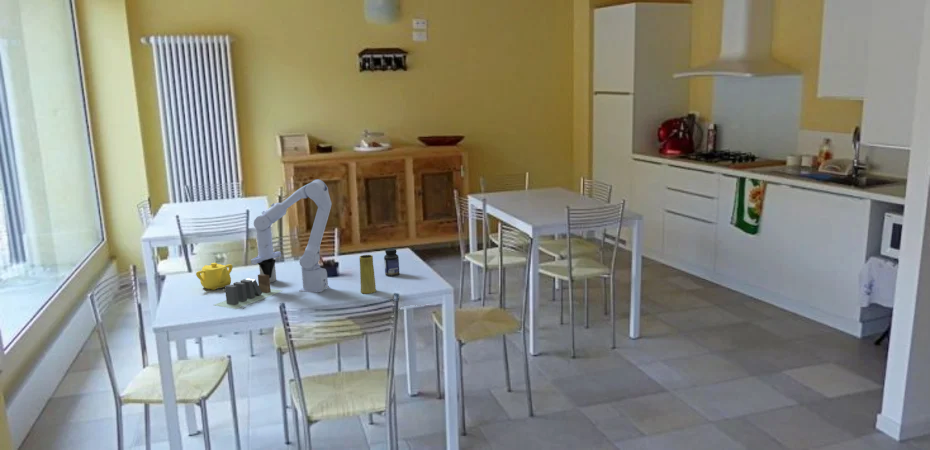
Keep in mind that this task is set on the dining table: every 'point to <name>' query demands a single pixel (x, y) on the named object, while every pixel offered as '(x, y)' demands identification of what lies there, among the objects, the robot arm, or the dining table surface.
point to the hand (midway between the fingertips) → (268, 277)
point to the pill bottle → (391, 262)
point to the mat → (248, 300)
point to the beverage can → (273, 276)
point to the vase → (367, 274)
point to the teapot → (215, 276)
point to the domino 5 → (264, 283)
